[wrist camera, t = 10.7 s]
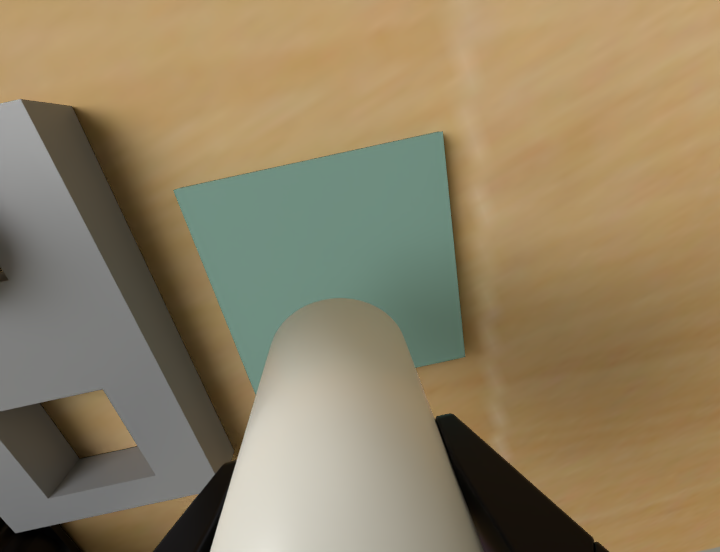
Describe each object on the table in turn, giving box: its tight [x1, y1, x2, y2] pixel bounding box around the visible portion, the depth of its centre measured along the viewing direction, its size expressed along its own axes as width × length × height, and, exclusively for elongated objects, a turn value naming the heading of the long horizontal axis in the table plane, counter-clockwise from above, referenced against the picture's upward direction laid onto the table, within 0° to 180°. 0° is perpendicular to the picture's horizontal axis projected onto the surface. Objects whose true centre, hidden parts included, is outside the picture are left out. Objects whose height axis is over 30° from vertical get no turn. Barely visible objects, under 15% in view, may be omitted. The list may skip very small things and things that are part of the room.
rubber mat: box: [173, 131, 465, 394], centre depth 17 cm, size 12×12×1 cm
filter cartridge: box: [210, 298, 484, 552], centre depth 7 cm, size 5×5×9 cm
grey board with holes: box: [0, 99, 234, 533], centre depth 17 cm, size 20×12×2 cm, turn 11°
